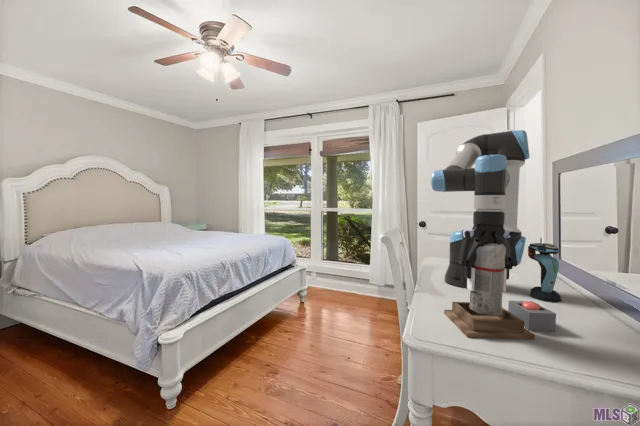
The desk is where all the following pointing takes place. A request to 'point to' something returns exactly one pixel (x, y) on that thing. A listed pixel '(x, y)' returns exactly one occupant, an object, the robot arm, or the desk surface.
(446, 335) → the desk surface
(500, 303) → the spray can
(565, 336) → the desk surface
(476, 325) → the walnut tray
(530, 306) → the button
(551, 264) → the teal power drill
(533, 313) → the control box
